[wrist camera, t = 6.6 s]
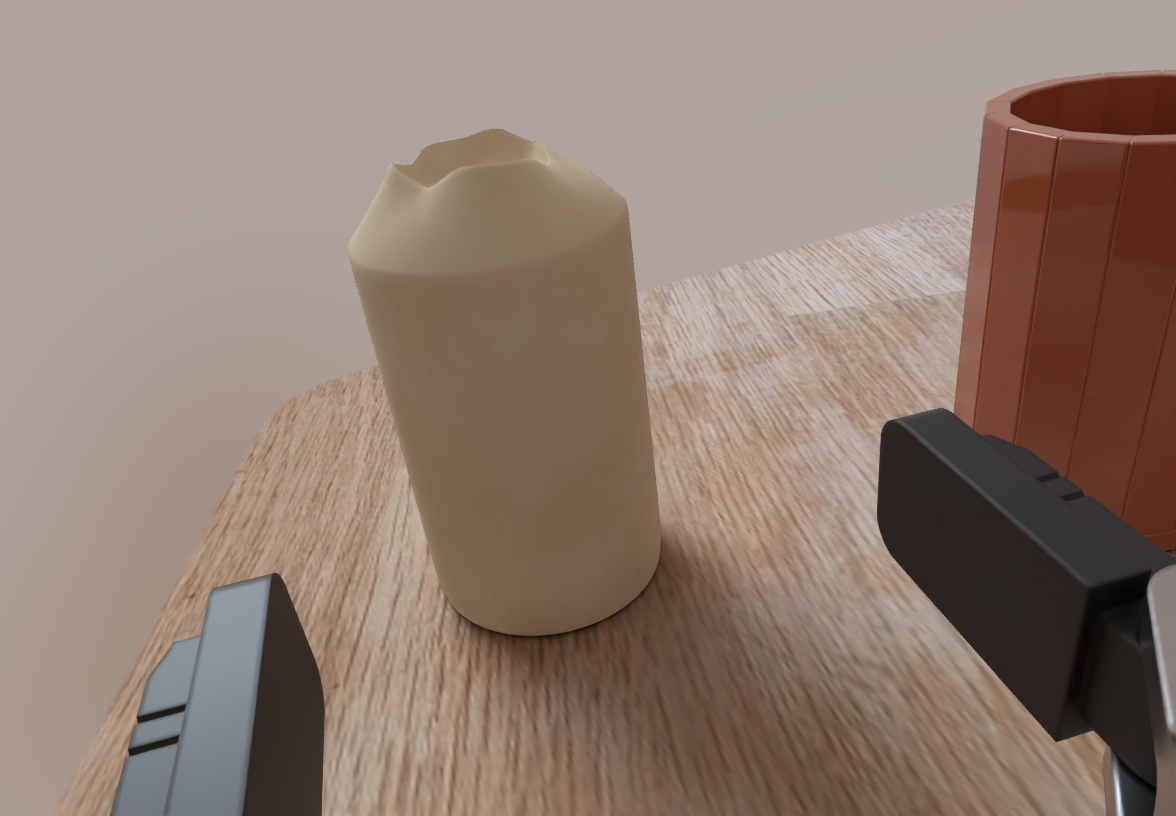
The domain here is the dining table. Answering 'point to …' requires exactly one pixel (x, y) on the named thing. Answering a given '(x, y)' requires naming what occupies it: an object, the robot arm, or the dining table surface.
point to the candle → (515, 378)
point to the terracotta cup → (1079, 288)
